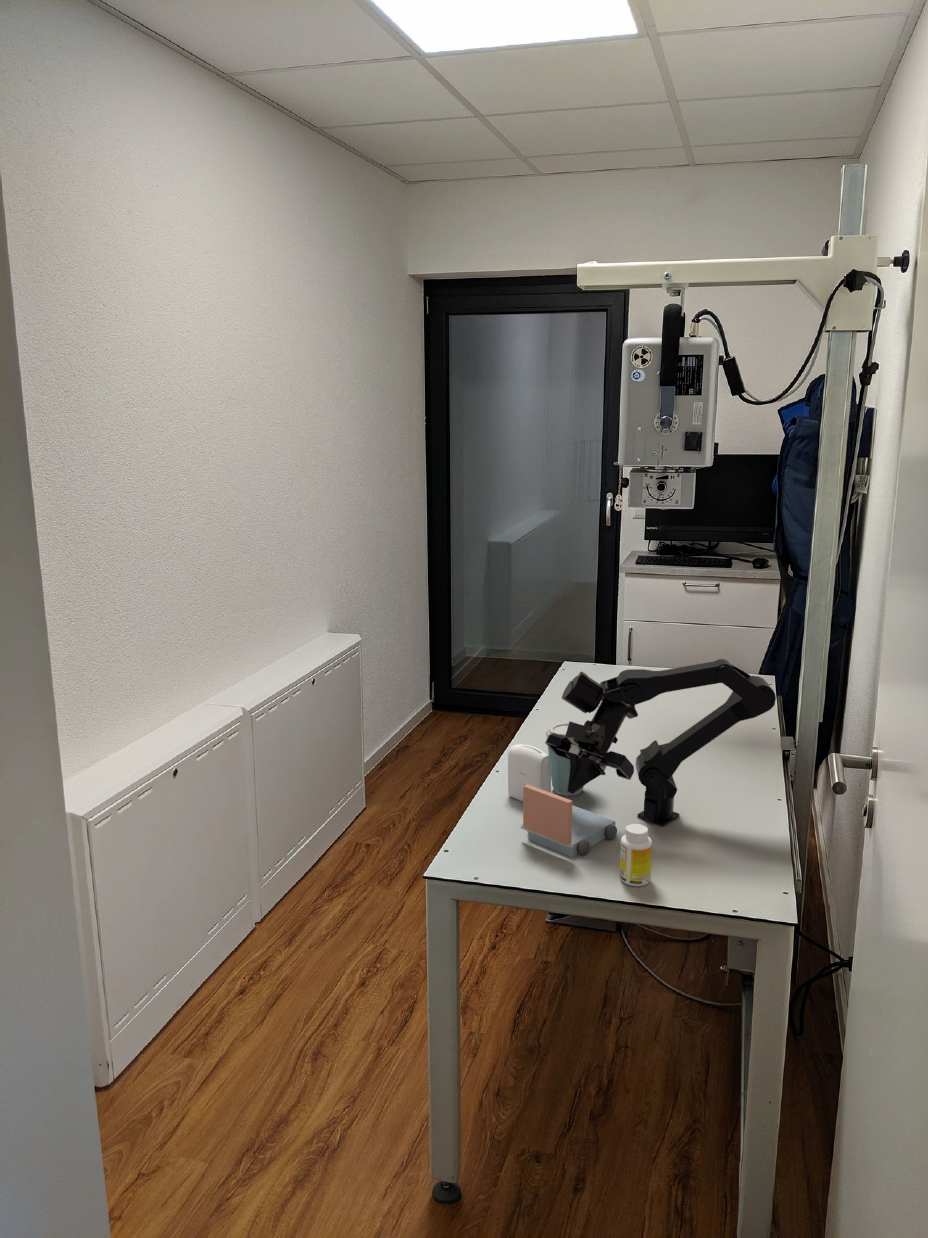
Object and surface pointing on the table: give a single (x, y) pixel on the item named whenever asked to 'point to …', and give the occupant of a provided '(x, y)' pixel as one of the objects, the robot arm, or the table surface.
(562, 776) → the disposable coffee cup
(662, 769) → the robot arm
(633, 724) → the table surface
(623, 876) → the supplement bottle
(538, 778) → the photo printer
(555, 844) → the cart bed
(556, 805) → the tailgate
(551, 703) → the table surface
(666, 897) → the table surface
